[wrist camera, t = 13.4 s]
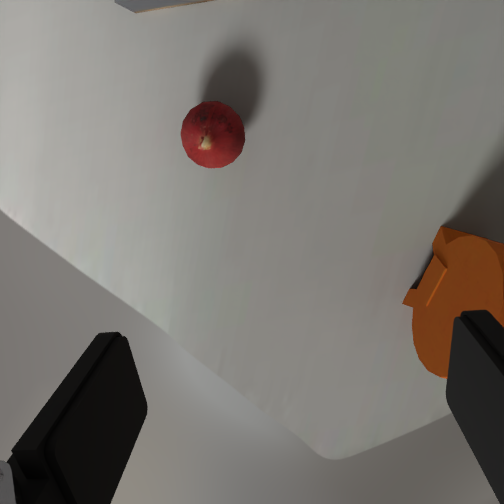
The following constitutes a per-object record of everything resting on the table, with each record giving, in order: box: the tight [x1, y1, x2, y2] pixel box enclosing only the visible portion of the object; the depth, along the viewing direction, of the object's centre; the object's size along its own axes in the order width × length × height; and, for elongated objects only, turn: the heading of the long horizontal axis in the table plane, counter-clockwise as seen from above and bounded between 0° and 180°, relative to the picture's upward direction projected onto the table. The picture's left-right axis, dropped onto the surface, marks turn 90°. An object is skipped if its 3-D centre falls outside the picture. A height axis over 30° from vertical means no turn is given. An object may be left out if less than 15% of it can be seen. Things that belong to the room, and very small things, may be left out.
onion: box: [181, 101, 245, 168], centre depth 34 cm, size 6×6×8 cm
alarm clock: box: [402, 226, 504, 379], centre depth 33 cm, size 13×6×20 cm, turn 166°
